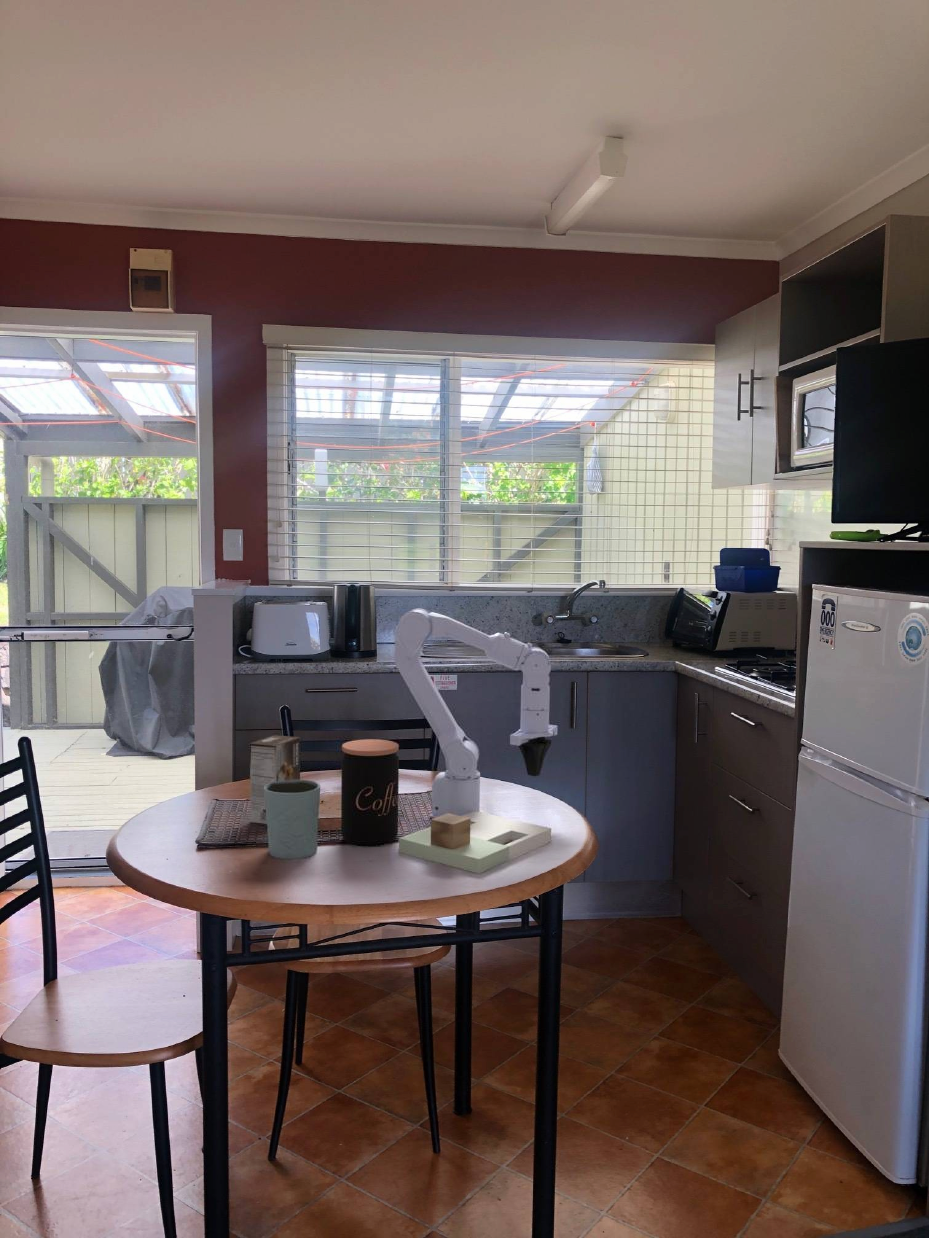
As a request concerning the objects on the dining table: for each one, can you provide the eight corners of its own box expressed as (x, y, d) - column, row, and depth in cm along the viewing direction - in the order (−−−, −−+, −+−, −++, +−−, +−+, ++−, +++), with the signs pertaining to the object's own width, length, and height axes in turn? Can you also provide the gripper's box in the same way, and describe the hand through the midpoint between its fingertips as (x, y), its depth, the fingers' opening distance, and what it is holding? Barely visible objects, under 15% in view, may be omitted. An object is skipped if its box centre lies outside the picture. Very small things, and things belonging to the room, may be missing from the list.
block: (430, 844, 166) (430, 819, 165) (448, 837, 170) (448, 813, 169) (452, 849, 163) (453, 824, 162) (470, 843, 167) (470, 818, 166)
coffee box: (274, 810, 194) (274, 734, 193) (301, 813, 192) (301, 736, 191) (249, 822, 186) (249, 742, 185) (277, 826, 184) (277, 745, 182)
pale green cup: (302, 863, 162) (302, 795, 161) (252, 855, 166) (252, 789, 165) (330, 846, 172) (330, 781, 171) (282, 839, 175) (282, 776, 174)
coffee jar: (353, 851, 169) (353, 753, 168) (333, 834, 178) (333, 741, 177) (407, 843, 174) (408, 748, 173) (385, 828, 183) (385, 737, 182)
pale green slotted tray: (398, 851, 169) (398, 838, 169) (474, 823, 187) (474, 810, 187) (478, 873, 158) (479, 859, 158) (551, 841, 177) (551, 828, 176)
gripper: (531, 715, 180) (530, 785, 181) (570, 706, 191) (569, 771, 192) (501, 711, 184) (500, 779, 185) (541, 702, 196) (540, 766, 197)
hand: (533, 775), depth 189 cm, fingers closed
